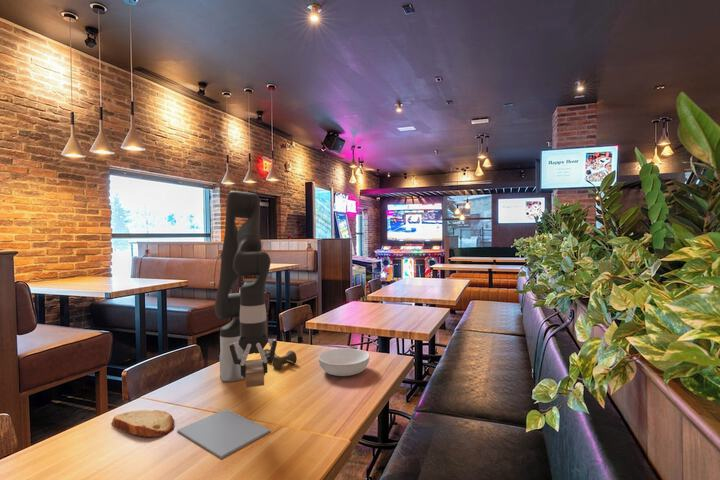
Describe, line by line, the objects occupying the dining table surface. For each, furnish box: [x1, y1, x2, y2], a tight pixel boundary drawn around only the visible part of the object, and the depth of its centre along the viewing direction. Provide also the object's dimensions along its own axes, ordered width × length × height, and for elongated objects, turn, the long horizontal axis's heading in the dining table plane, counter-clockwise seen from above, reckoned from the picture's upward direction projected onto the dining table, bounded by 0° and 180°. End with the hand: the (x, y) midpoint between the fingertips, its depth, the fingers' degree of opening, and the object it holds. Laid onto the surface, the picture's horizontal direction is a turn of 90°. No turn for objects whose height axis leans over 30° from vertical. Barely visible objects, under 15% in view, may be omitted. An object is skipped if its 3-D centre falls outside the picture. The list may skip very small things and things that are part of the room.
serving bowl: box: [317, 347, 370, 377], centre depth 157 cm, size 21×21×7 cm
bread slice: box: [111, 409, 175, 438], centre depth 116 cm, size 18×18×4 cm
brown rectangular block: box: [245, 358, 265, 388], centre depth 115 cm, size 11×5×4 cm, turn 17°
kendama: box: [260, 348, 298, 371], centre depth 167 cm, size 6×10×20 cm
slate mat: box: [176, 408, 271, 459], centre depth 112 cm, size 22×16×1 cm
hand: (254, 375), depth 115 cm, fingers closed on brown rectangular block, 5 cm apart
